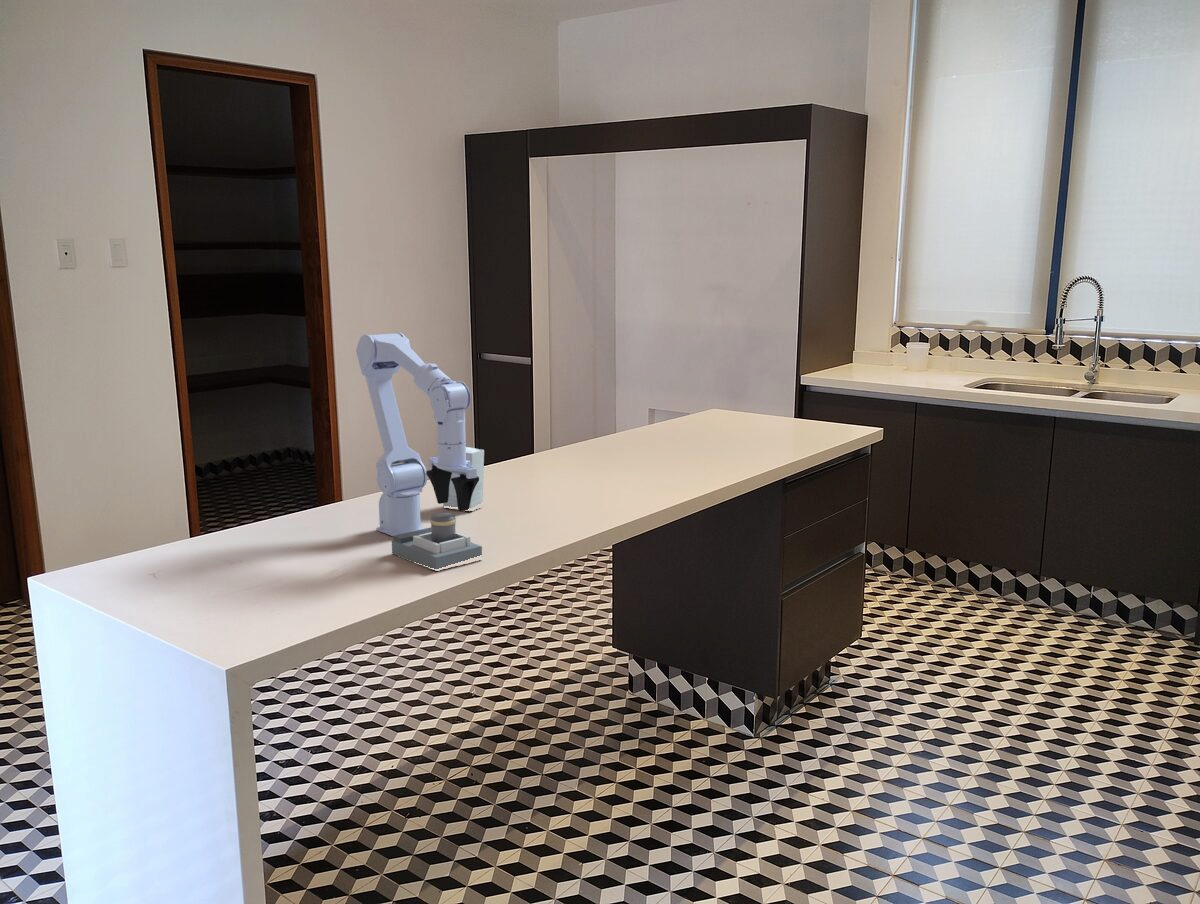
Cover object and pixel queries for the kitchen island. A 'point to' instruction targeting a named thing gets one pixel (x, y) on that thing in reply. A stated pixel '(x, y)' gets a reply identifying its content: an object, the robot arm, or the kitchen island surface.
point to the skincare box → (477, 462)
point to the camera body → (434, 548)
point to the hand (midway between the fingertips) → (453, 506)
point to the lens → (443, 527)
